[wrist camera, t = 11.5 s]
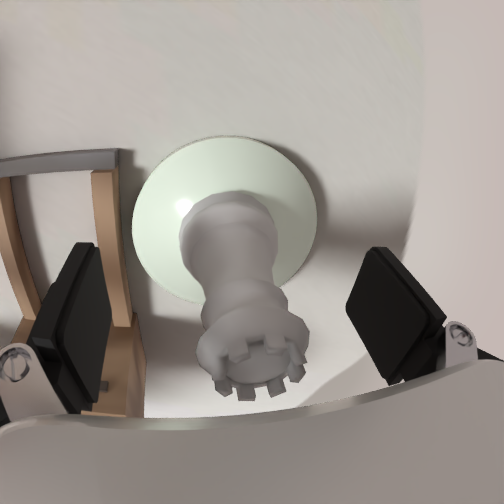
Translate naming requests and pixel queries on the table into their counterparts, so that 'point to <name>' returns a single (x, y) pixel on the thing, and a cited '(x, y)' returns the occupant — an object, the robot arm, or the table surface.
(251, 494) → the robot arm
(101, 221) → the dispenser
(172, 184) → the pale green round disc
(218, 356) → the rook chess piece
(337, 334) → the table surface
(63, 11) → the table surface
